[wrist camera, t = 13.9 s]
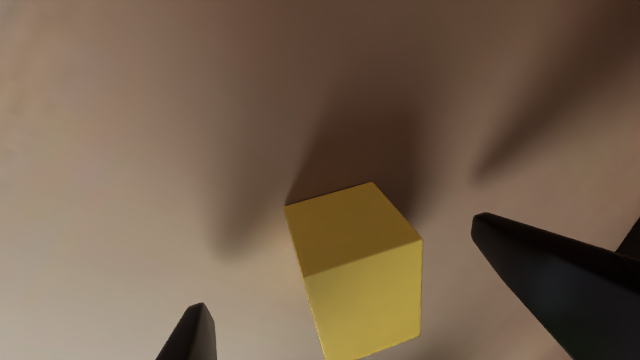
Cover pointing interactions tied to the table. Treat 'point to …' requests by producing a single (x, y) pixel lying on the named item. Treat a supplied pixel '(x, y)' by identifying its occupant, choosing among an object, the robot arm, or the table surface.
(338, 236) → the butter pat
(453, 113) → the table surface
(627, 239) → the cutter
